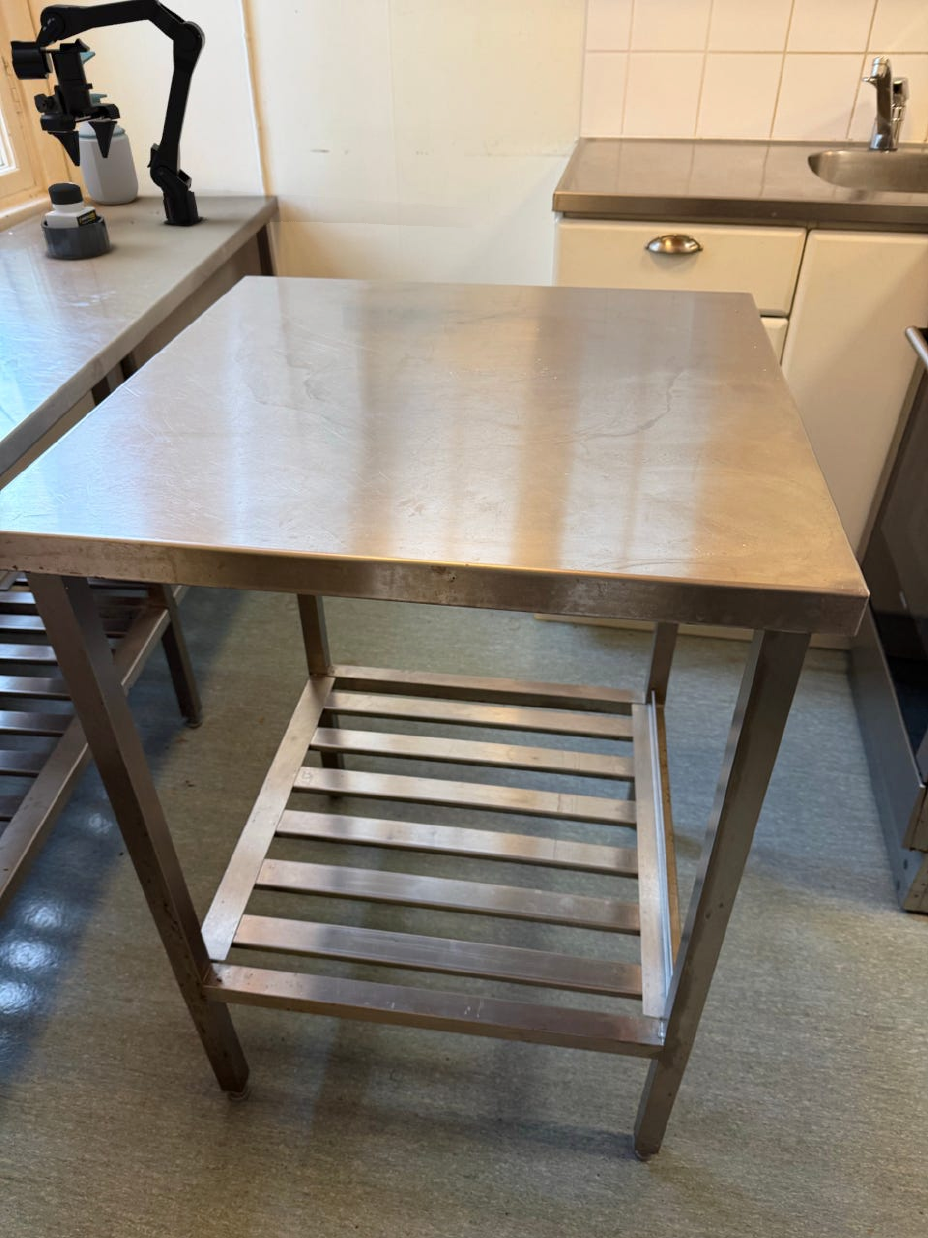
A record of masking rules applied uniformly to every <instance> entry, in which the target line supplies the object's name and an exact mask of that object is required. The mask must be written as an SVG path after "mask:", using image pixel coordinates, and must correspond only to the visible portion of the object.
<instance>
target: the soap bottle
mask: <svg viewBox="0 0 928 1238" xmlns="http://www.w3.org/2000/svg"><path fill="white" fill-rule="evenodd" d="M95 56H96V52H95V51H91V50H90V51H88V52H86V53H81V57H82V62H83V66H85V63H87V62H89V60H91V59H93V57H95ZM90 96H91V101H92V104H94V103H102V101H101V99H105V98H108V95H107V93H90ZM88 121H92V120H88ZM88 121H84V122H82V124H80V125H79V126H78V127H77V129H76V131H79V145H80V166H79V167H80V171H81V175H82V179H83V183H84V187H85V189H86V191H87V194H88V195H89V197H90V199H91V200H93V201H94V202H95V203H97V204H99V205H103V206H116V205H124V204H128V203H131V202H133V201H134V200H135V198H136V197H137V196H138V193H139V180H138V175H137V170H136V166H135V162H134V157H133V152H132V147H131V143H130V138H129V135H128V134H127V133H126V129H125V128H124V127H121V126H120V125H119V124H118V123H117V124H116V125H115V129H114V132H113V136H112V140H111V144H110V149H109V154H108V158H103V157H102V154H101V152H100V149H99V145H98V141H97V138H96V134H95V131H94V129H93V128H92V127H91V126H90V125H89V123H88Z"/></svg>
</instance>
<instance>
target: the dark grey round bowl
mask: <svg viewBox="0 0 928 1238" xmlns="http://www.w3.org/2000/svg"><path fill="white" fill-rule="evenodd" d="M96 215H97V219H98V222H96V223H93V224H89V225H85V226H78V227H68V228H56V227H49V226H48V224H47V220H46V219H44V220H42V221H41V222H40V227H41V231H42V234H43V238H44V241H45V245H46V249H47V252H48V254H49V256H50V257H51V258H53V259H56V260H64V261H66V260H67V261H74V260H84V259H85V260H87V259H91V258H96V257H100V256H103V255H105V254H108V253H109V252H111V250H112V245H111V239H110V235H109V231H108V230H109V229H108V227H107V222H106V219H105V216H104V215H102V214H99V213H96Z"/></svg>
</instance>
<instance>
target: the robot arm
mask: <svg viewBox="0 0 928 1238" xmlns="http://www.w3.org/2000/svg"><path fill="white" fill-rule="evenodd" d="M39 15H40V16H39V24H40V29H39V32H38V35H37V36H36V40H26V41H25V40H19V39H18V40H10V42H9V44H10V48H11V50H10V51H11V52H10V54H11V66H12V69H13V71H14V74H15V76H16V78H17V80H19V81H35V80H36V81H37V80H49V79H50V74H53V73H54V72H55V77H56V81H57V84H54V85H53V92H54V94H52V95H48V96H47V95H46V94H45V93H43V92H42V93H38V94H35V95H33V100H34V105H35V108H36V110H37V112H38V113H39V114H41V116H40V118H39V123H40V128H41V131H42V132H43V131H44V132H46V133H47V134H48V135H51V136H53V137H55V138H56V139H57V140H58V141H59V143H60V144H61V145H62V147H63V149H64V150H65V152H66V153H67V155H68V157H69V158H70V160H71V162H72V163H73V165H74V166H75V167H76V168H77V167H80V145H79V131H77V130H76V127H77V124H80V123H83V122H84V121H88V120H92V121H88V123H89V125H90V126H91V127H92V128H93V129H94V131H95V134H96V138H97V141H98V145H99V149H100V152H101V154H102V157H103V158H108V154H109V149H110V144H111V140H112V136H113V132H114V129H115V125H116V124H118V119H119V120H120V119H121V113H120V109H119V107H118V106H117V105H116V103H110V102H101V103H94V104H92V101H91V96H90V94H91V92H90V90H94V85H93V83H92V82H88V79H87V75H86V71H85V65H83V62H82V57H81V53H86V52H88V51H91V47H90V46H88V45H87V44H86V43H84V41H83V40H82V39H81V38H80V37H77V38H76V39H75V41H74V42H60V43H59V45H58V46H59V47H58V48H47V47H51V46H52V45H55V44H56V43H57V42H58V41H64V40H66V39H69V38H72V37H74V36H77V35H79V34H82V33H85V32H86V31H89V30H92V29H98V28H99V29H100V28H104V27H109V26H117V25H123V24H130V23H137V22H143V21H149V22H150V23H152V24H153V25H154V26H155V27H156V28H157V29H158V30H160V31H161V33H163V34H164V35H165V36H166V37H168V38H169V39H170V40H171V41H172V59H173V60H172V61H173V74H172V78H171V84H170V88H169V95H168V101H167V106H166V110H165V118H164V124H163V129H162V134H161V139H160V141H159V144H158V143H156V142H154V143H153V144H152V145H151V146H150V149H149V151H150V152H149V162H148V164H147V165H146V168H147V169H149V177H150V179H151V180H152V182H153V183H154V184H155V185H156V186H157V187H158V188H160V189H161V191H162V196H163V199H162V204H163V208H164V213H165V218H166V220H164V221H163V223H164V225H174V226H186V227H188V226H191V225H194V224H196V223H197V222H200V221H203V220H204V216H200V215H199V211H198V205H197V199H196V195H195V194H196V193H195V191H192V190H191V187H192V184H193V183H192V182H193V178H192V177H191V176H190V175H188V173H186V172H185V171H184V170H183V169H182V168H181V140H182V139H181V138H182V134H183V128H184V123H185V118H186V113H187V108H188V103H189V96H190V92H191V88H192V87H191V86H192V80H193V75H194V74H195V70H196V68H197V65H198V63H199V61H200V59H201V56H202V53H203V50H204V48H205V45H206V35H205V32H204V30H203V28H202V27H201V26H200V25H199V24H198V23H196V22H195V21H192V20H185V19H184V18H182V16H180V15H179V14H177V13H176V12H174V11H173V10H171V9H170V8H169V7H167V6H166V5H165V4H163V3H162V2H161V1H160V0H122V1H121V0H120V1H115V2H108V3H102V4H95V5H76V4H60V3H59V4H57V3H56V4H52V5H48V6H46V7H44V8H43V9H42V10H41V12H40V14H39Z"/></svg>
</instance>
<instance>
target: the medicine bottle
mask: <svg viewBox="0 0 928 1238" xmlns="http://www.w3.org/2000/svg"><path fill="white" fill-rule="evenodd" d="M47 192H48V194H49V198H50V202H51V206H52V208H53V210H51V211H49V212H46V213H45V215H44V216H45V220H47V224H48V226H49V227H56V228H68V227H78V226H85V225H89V224H93V223H96V222H98V219H97V215H96V214H97V212H96V208H95V207H94V206H85V201H84V198H83V193H82V188H81V186H80V184H77V183H75V182H70V181H66V182H65V181H64V182H56V183H53V184H51V185H50V186H49V187H48V189H47Z"/></svg>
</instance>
